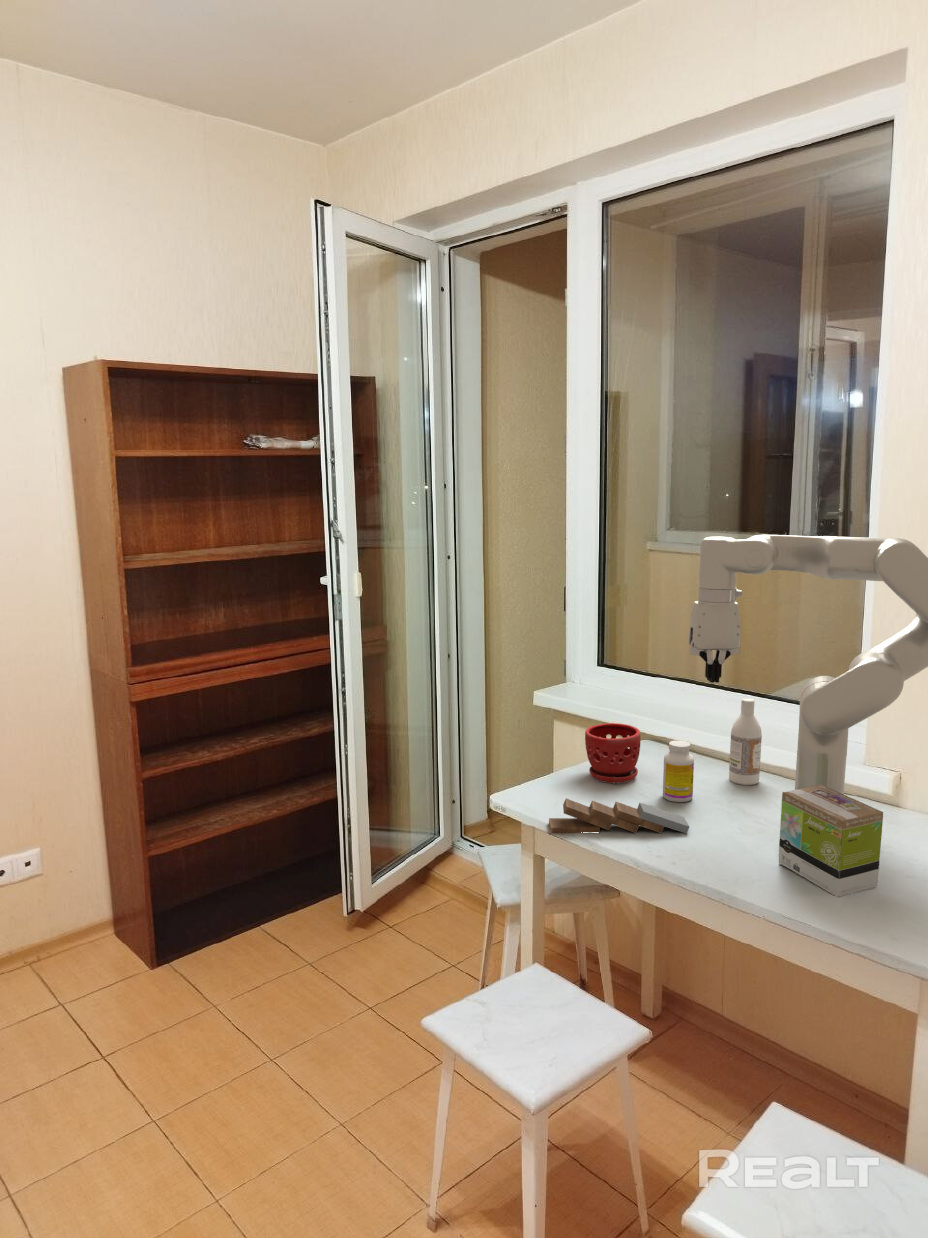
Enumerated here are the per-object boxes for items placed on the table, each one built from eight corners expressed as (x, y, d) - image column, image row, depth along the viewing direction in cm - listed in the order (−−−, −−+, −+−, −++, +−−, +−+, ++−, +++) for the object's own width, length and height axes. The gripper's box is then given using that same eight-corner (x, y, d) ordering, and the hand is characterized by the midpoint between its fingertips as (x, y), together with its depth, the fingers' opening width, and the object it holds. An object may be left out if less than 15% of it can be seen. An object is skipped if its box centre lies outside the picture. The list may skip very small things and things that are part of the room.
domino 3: (636, 817, 188) (592, 800, 189) (638, 826, 183) (592, 808, 184) (634, 824, 189) (589, 807, 189) (635, 833, 184) (590, 815, 184)
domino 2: (610, 814, 189) (565, 798, 190) (612, 823, 184) (566, 806, 185) (607, 821, 189) (563, 805, 190) (609, 830, 185) (563, 813, 185)
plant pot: (606, 765, 226) (607, 719, 224) (650, 777, 217) (651, 729, 215) (573, 777, 217) (574, 729, 215) (617, 791, 208) (619, 741, 206)
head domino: (684, 817, 188) (639, 802, 188) (689, 826, 183) (643, 811, 183) (681, 824, 189) (636, 809, 188) (686, 833, 184) (640, 818, 183)
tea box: (775, 864, 170) (780, 790, 167) (816, 855, 174) (821, 782, 171) (837, 899, 156) (842, 818, 153) (879, 888, 160) (885, 809, 157)
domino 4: (660, 817, 189) (615, 801, 189) (664, 826, 184) (618, 810, 184) (657, 824, 189) (613, 808, 189) (661, 833, 184) (615, 817, 184)
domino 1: (596, 818, 189) (549, 818, 189) (599, 827, 184) (551, 827, 184) (596, 825, 189) (548, 825, 189) (599, 835, 184) (550, 835, 184)
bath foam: (750, 788, 209) (754, 705, 206) (723, 780, 214) (727, 699, 211) (764, 780, 214) (768, 699, 211) (738, 773, 219) (741, 694, 216)
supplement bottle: (695, 803, 200) (697, 748, 198) (665, 803, 200) (667, 748, 198) (688, 792, 207) (691, 739, 204) (660, 792, 207) (661, 739, 205)
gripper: (744, 593, 192) (740, 676, 195) (676, 593, 191) (673, 677, 194) (758, 598, 185) (753, 684, 188) (687, 599, 184) (683, 686, 187)
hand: (712, 681), depth 191 cm, fingers closed
